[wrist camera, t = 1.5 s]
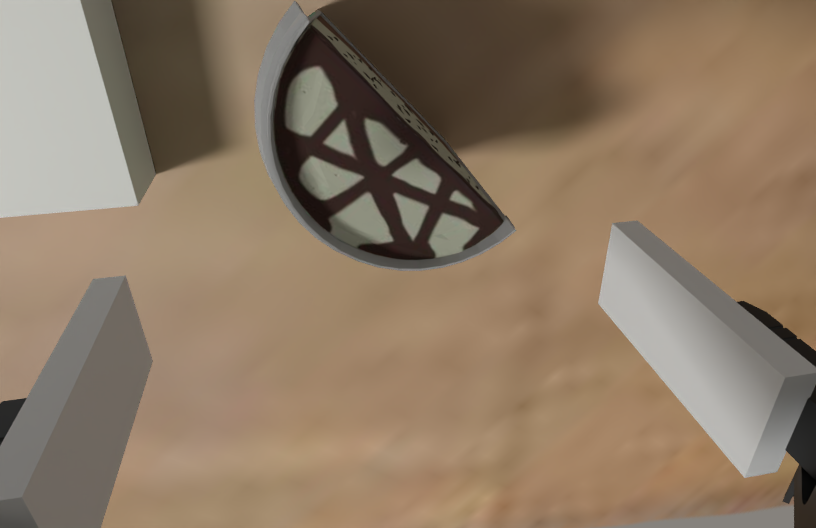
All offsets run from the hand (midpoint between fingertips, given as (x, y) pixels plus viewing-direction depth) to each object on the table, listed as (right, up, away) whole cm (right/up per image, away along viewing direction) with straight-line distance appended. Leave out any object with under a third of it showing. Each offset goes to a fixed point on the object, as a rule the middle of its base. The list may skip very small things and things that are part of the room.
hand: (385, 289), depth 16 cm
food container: (-3, +8, +15) cm, 17 cm away
